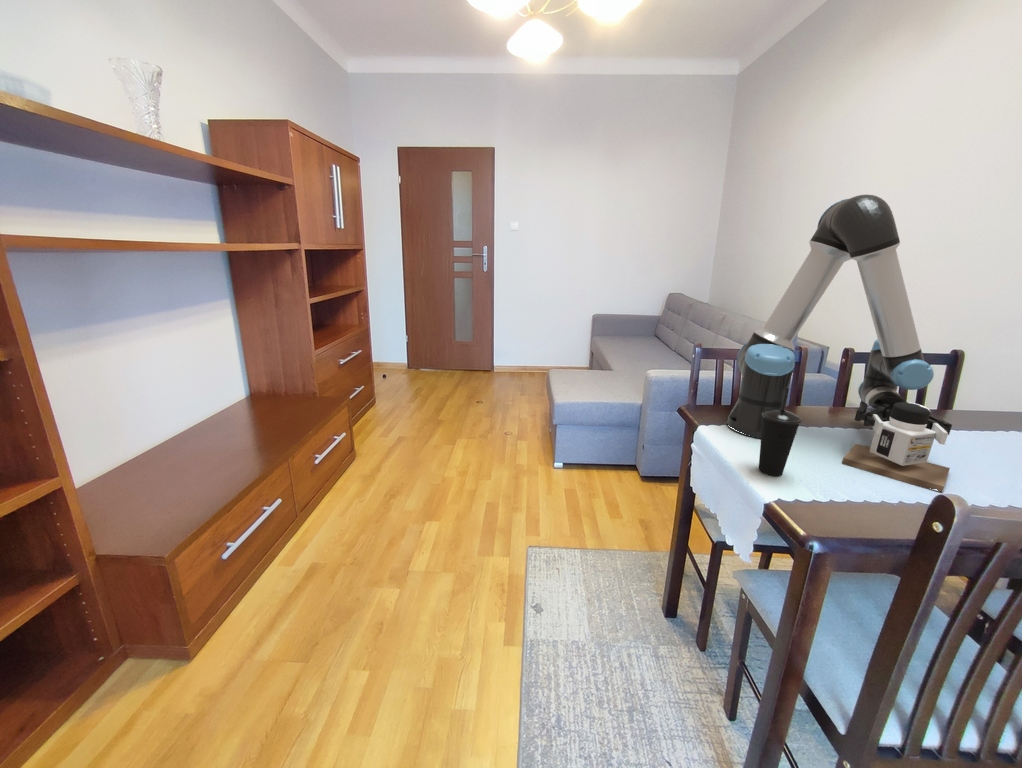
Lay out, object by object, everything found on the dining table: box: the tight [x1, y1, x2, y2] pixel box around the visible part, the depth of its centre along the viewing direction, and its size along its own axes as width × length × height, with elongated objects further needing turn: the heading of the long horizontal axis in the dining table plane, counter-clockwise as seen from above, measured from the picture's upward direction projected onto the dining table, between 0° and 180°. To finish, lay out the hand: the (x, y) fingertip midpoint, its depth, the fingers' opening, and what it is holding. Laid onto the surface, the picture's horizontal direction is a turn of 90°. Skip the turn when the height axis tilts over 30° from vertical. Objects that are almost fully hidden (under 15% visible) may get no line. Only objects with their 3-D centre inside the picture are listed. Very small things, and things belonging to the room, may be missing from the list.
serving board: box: [841, 443, 951, 494], centre depth 108 cm, size 18×13×2 cm
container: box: [869, 401, 936, 466], centre depth 105 cm, size 8×8×13 cm
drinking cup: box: [758, 387, 802, 478], centre depth 102 cm, size 8×8×20 cm
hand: (911, 433), depth 101 cm, fingers closed on container, 10 cm apart
